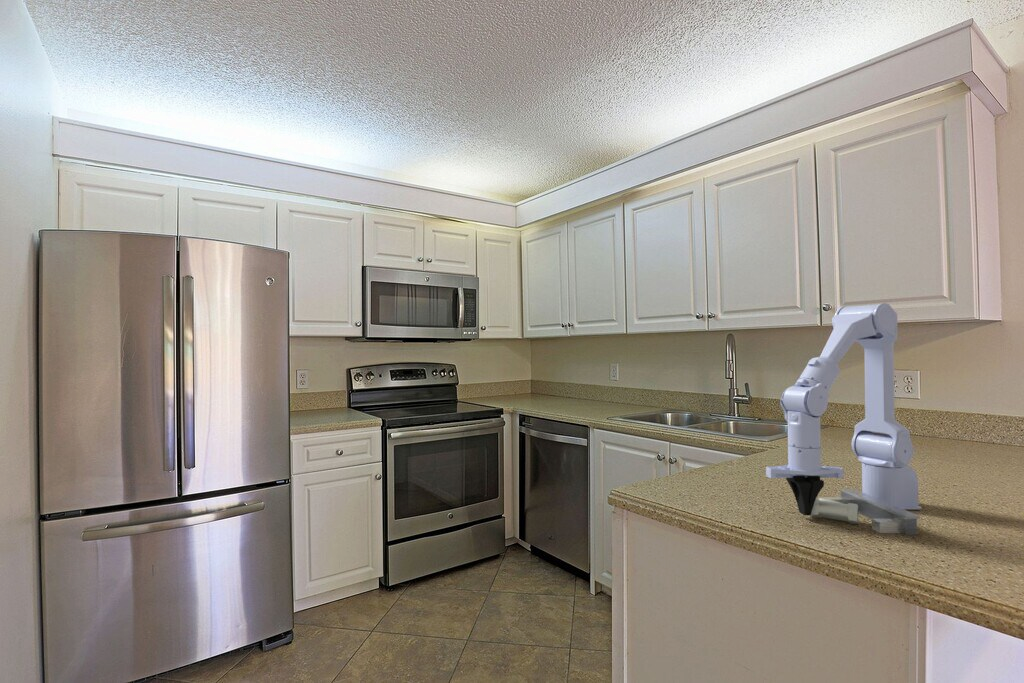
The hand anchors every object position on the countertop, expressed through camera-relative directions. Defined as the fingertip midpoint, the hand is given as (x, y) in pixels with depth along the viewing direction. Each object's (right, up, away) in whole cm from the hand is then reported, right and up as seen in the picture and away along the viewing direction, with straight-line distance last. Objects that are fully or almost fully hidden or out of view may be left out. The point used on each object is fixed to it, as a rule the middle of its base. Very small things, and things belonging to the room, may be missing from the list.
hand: (805, 513), depth 100 cm
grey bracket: (+12, -1, 0) cm, 12 cm away
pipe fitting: (+6, -1, +1) cm, 6 cm away
